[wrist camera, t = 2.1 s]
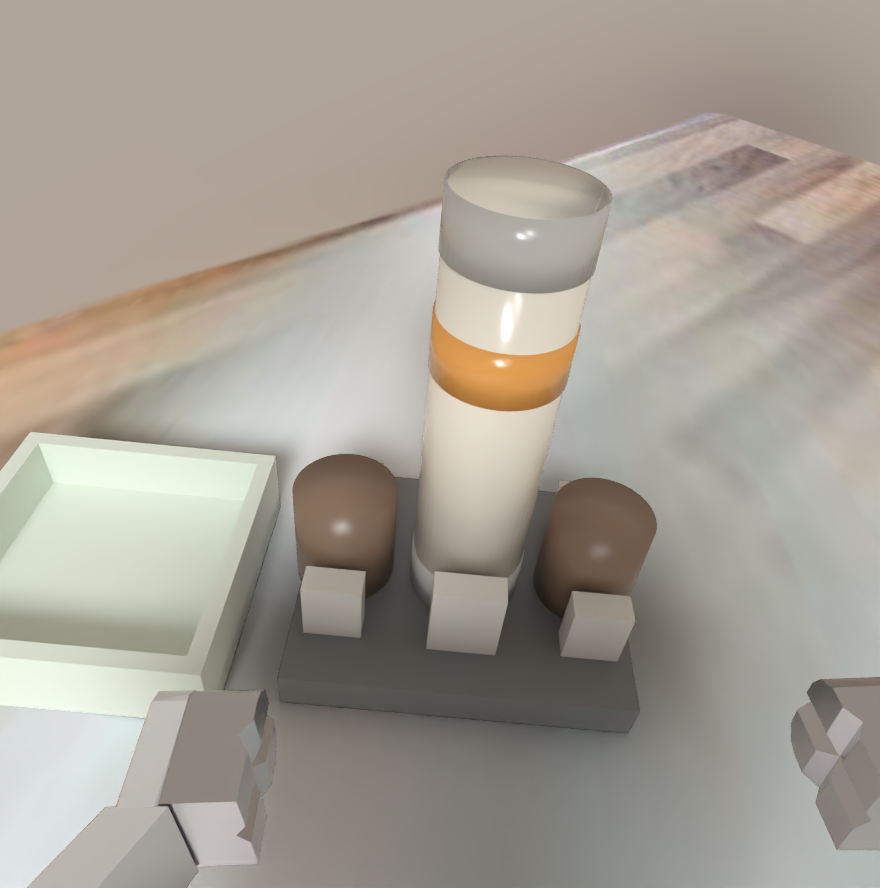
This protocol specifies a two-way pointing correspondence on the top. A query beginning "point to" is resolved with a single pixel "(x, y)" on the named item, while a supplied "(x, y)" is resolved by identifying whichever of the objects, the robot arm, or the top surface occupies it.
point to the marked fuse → (500, 355)
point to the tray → (126, 569)
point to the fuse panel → (461, 643)
